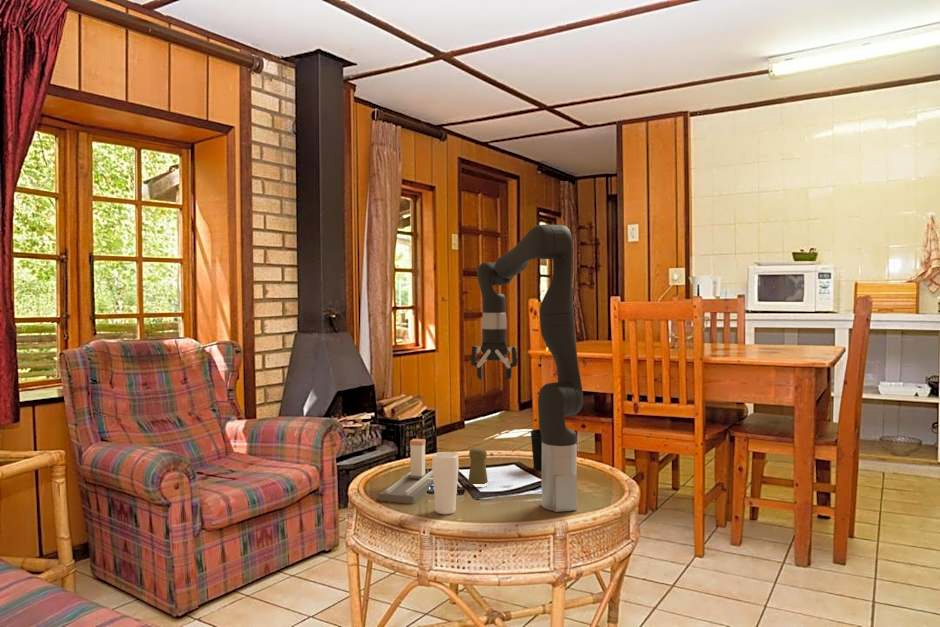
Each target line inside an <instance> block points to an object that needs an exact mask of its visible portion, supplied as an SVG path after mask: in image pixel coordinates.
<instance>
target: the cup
mask: <svg viewBox="0 0 940 627" xmlns="http://www.w3.org/2000/svg"><path fill="white" fill-rule="evenodd" d="M530 439H531V450H532V452H531V453H532V460H533V461H532V463H533V470H535V471H541V472H542V436H541V433H540V429H539V428H538V429H532V430H531V431H530Z"/></svg>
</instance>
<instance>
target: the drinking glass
mask: <svg viewBox="0 0 940 627" xmlns="http://www.w3.org/2000/svg"><path fill="white" fill-rule="evenodd" d="M431 462H432V468H431V471H433V483H434V486H433V492H434V510H435V512H436V513H437V514H439V515H452V514H454V513H455V512H456V509H457V506H456V505H457V490H458V480H459V454H458V453H456V452H451V451H440V452H439V451H438V452H434V453H432V461H431Z"/></svg>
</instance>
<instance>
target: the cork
mask: <svg viewBox="0 0 940 627" xmlns="http://www.w3.org/2000/svg"><path fill="white" fill-rule="evenodd" d="M468 455H469V459H470V464H469V465H470V466H469V473H468V480H467V483H468V482H469V483H472V484H485V483H487V482H488V483H489V480H488V474H487V467H486V458H487V457H488V454H487V450H486V449H485V448H483V447H473V448H471V449H469V452H468Z"/></svg>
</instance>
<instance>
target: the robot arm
mask: <svg viewBox="0 0 940 627" xmlns="http://www.w3.org/2000/svg"><path fill="white" fill-rule="evenodd" d="M536 259H540V260H552V264H553V265H552V266H553V269H552V278H551V282H550V284H549V286H548V288H547V290H546V292H545V294H544V296H543V298H542V301H541V303H540V306H539V324H540V325H539V326H540V327H539V328H540V334H541V338H542V340H543V341H544V343H545V345H546V347H547V348H548V350H549V353H551V355H552V358H553V360H554V362H555V366H556V372H557V373H556V374H557V381H556V382H549V383H545V384H544V385H543V386H541V388H540V390H539V392H538V396H537V397H538V398H537V410H538V411H537V412H538V413H537V415H538V429H540V433H541V436H542V471H541V507H542V508H543V509H545V510H548V511H552V512H555V513H560V512H570V511H577V510H578V475H577V463H578V462H577V458H578V457H577V455H578V454H577V452H578V451H577V450H578V448H577V447H578V446H577V445H578V436H577V432H576V431H574V430H573V429H570V428H568V427H567V426H566V419H565V418H566V417H571V416H574V415H577V414H579V412H580V411H581V410H582V409H583V403H584V391H583V385H582V378H581V374H580V366H579V359H578V351H577V349H578V348H577V340H576V320H575V319H576V318H575V309H574V308H575V307H574V296H573V294H574V293H573V236H572V233H571V230H570V228H568V227H567V226H566V225H563V224H562V225H561V224H538V225H535V226H533V227H532V228H531V229H530V230H529V231H528V232H526V234H525V235H524V237H522V238H521V240H519V241H518V243H516V245H515V246H514V247H513V248H511V250H509V251H507V252H505V253H504V254H502V255H501V256H499V257H498V258H497V260H495V262H492V261H491V262H490V261H489V262H488V261H485V262H482V263H481V264H479V266H478V268H477V271H476V277H477V278H476V279H477V282H478V285H479V289H480V293H481V296H482V317H481V318H482V319H481V329H482V330H481V332H482V333H481V335H482V336H481V339H482V340H481V343H482V344H481V346H478V345H473V346H472V347H471V357H470V358H471V360H470V364H471V366H474V367H475V368H476V376H477V378H478V380H480V381H481V380H482V381H483V379H484V367H483V365H484V364H485V363H486V362H488V361H496V362H497V361H501V362H502V363H503V364H504V366H505V367H506V368H505V380H506V381H510V380H511V379H512V377H513V372H512V371H513V368H514V367H517V366H518V364H519V361H518V360H519V357H518V347H517V346H509V347H508V345H507V344H508V342H507V340H508V338H507V335H508V334H507V332H508V331H507V328H508V324H507V321H508V320H507V313H506V312H507V310H506V306H507V304H506V303H507V298H506V295H505V294H503V293H500V292H496V291H495V289H494V287H493V286H504V285H505V286H506V285H508V284H510V283H511V281H512V279H513V278H514V277H515V276H517V275H518V274H520V273H522V272H523V271H525V269H527V266H528V265H529V262H530V261H531V260H536ZM480 351H481V353H482V354H483V355H482V357H481V358H480V360H479V362H478V354H479V353H480ZM508 352H509V354H511V359H512V361H510V360H509V358H508V356H507V355H506V354H507V353H508Z"/></svg>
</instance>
